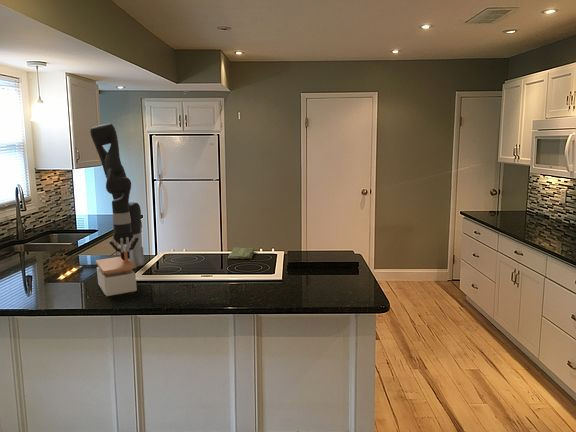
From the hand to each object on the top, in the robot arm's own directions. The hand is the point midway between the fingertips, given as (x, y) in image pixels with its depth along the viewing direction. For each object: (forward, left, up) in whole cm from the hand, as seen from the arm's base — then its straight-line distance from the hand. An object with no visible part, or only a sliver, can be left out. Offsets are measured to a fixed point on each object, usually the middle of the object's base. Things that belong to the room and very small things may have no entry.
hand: (125, 259), depth 222 cm
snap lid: (+5, 0, -3) cm, 5 cm away
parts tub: (+5, 0, -12) cm, 13 cm away
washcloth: (-65, -18, -13) cm, 69 cm away
